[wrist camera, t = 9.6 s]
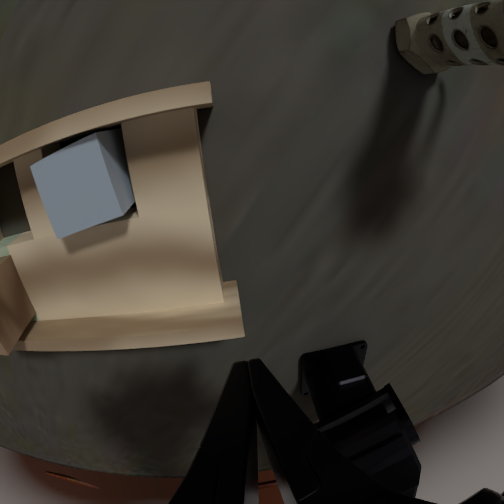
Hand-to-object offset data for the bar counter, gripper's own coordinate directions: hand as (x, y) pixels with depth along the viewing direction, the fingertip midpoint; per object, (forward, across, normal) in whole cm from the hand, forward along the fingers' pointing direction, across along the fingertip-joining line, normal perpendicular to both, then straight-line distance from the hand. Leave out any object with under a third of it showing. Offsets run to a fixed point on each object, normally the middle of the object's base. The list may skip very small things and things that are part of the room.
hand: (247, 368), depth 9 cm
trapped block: (+12, +8, -5) cm, 15 cm away
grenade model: (+12, -16, -12) cm, 23 cm away
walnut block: (+10, +18, +1) cm, 21 cm away
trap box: (+12, +11, -2) cm, 16 cm away
